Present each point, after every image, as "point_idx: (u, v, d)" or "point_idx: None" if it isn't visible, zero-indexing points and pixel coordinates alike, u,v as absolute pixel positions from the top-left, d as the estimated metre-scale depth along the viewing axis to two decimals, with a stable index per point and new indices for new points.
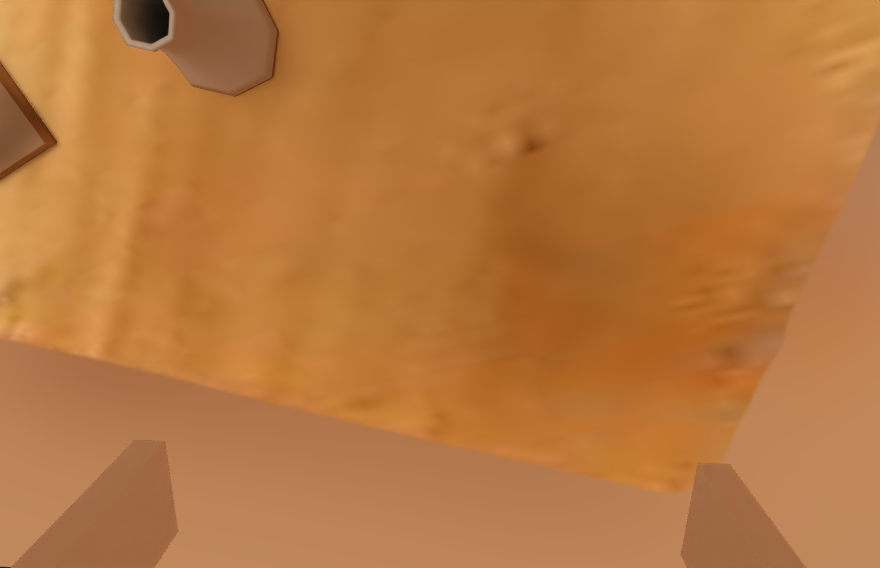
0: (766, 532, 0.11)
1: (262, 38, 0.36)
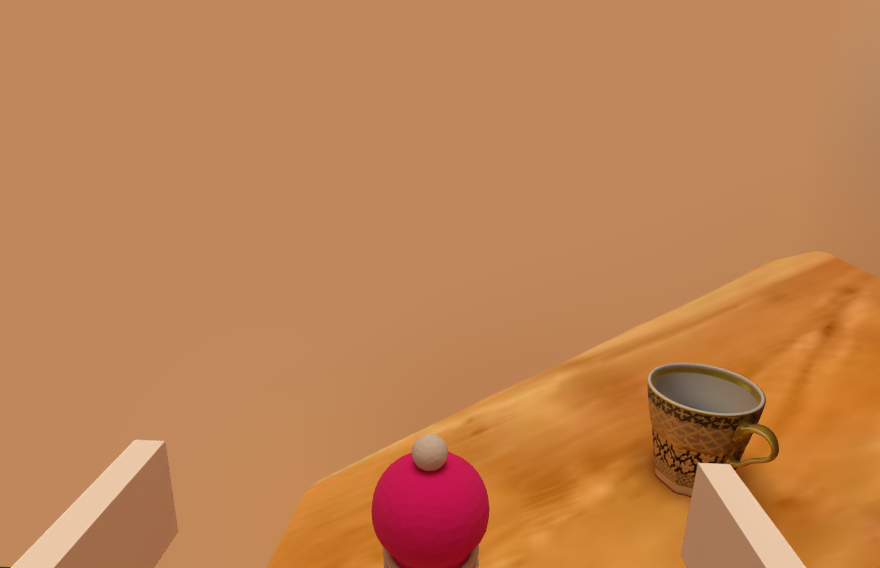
0: (766, 532, 0.11)
1: None
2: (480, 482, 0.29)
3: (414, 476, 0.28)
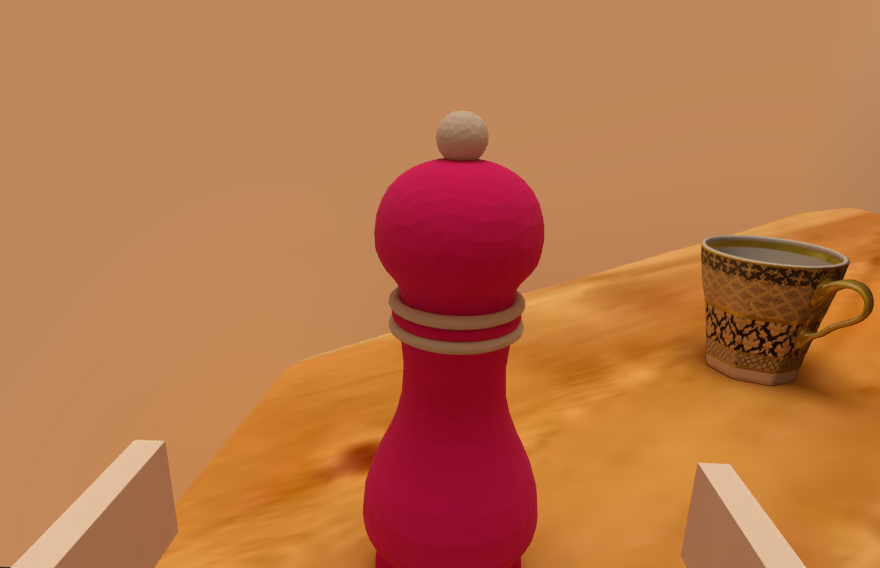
0: (766, 532, 0.11)
1: None
2: (533, 192, 0.20)
3: (439, 164, 0.19)
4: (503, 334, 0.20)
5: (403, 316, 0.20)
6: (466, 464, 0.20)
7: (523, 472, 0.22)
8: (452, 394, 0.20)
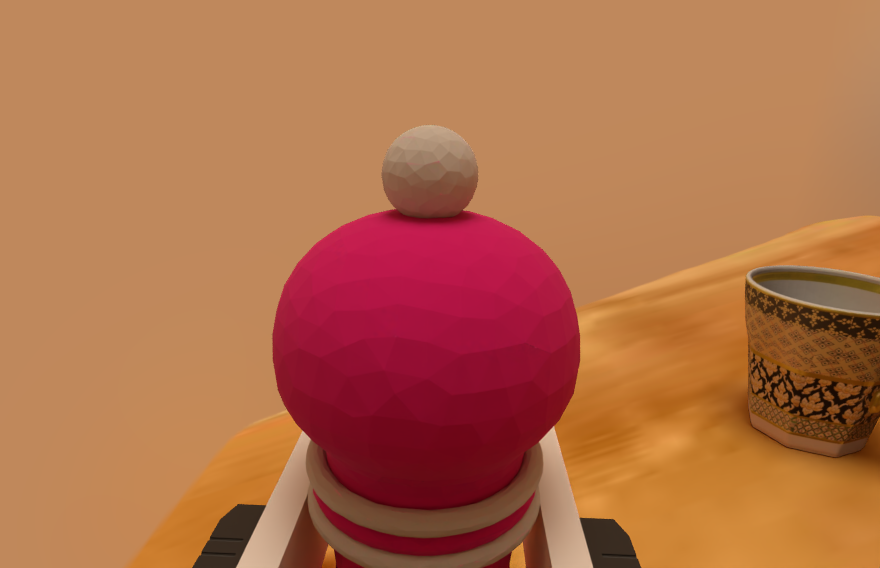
0: (551, 462, 0.13)
1: None
2: (558, 271, 0.11)
3: (385, 226, 0.10)
4: (506, 531, 0.11)
5: (323, 500, 0.11)
6: None
7: None
8: None
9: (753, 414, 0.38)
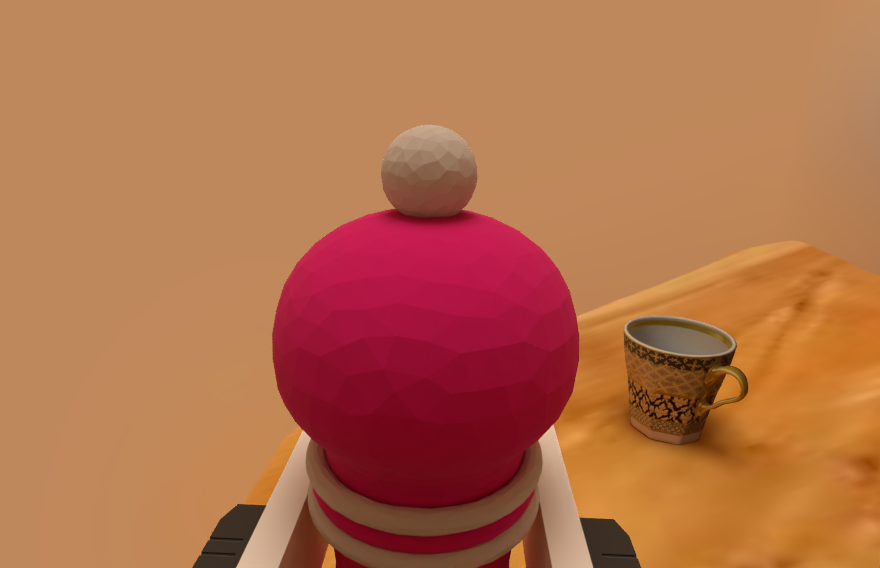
0: (551, 462, 0.13)
1: None
2: (557, 270, 0.11)
3: (385, 225, 0.10)
4: (505, 529, 0.11)
5: (323, 499, 0.11)
6: None
7: None
8: None
9: (631, 417, 0.57)
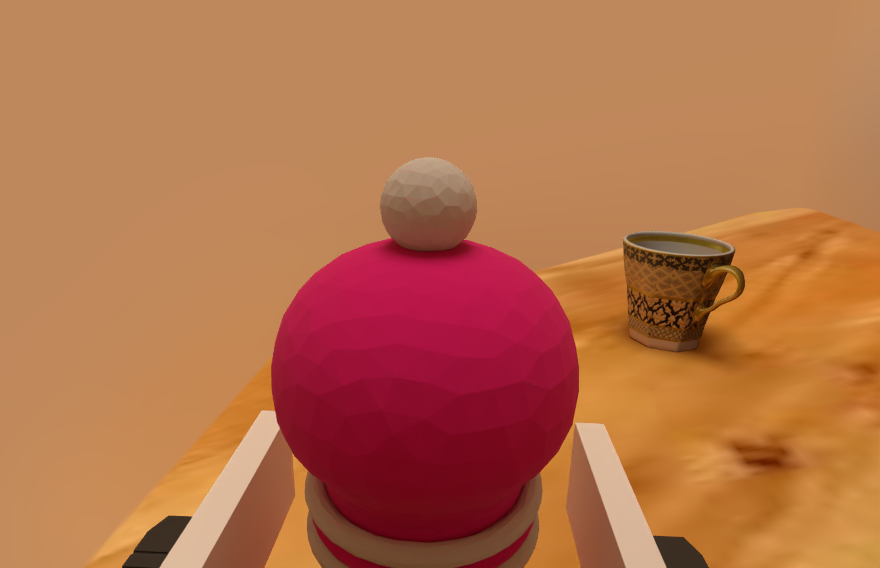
0: (614, 477, 0.13)
1: None
2: (557, 301, 0.11)
3: (384, 260, 0.10)
4: (505, 561, 0.11)
5: (322, 531, 0.11)
6: None
7: None
8: None
9: (630, 328, 0.58)
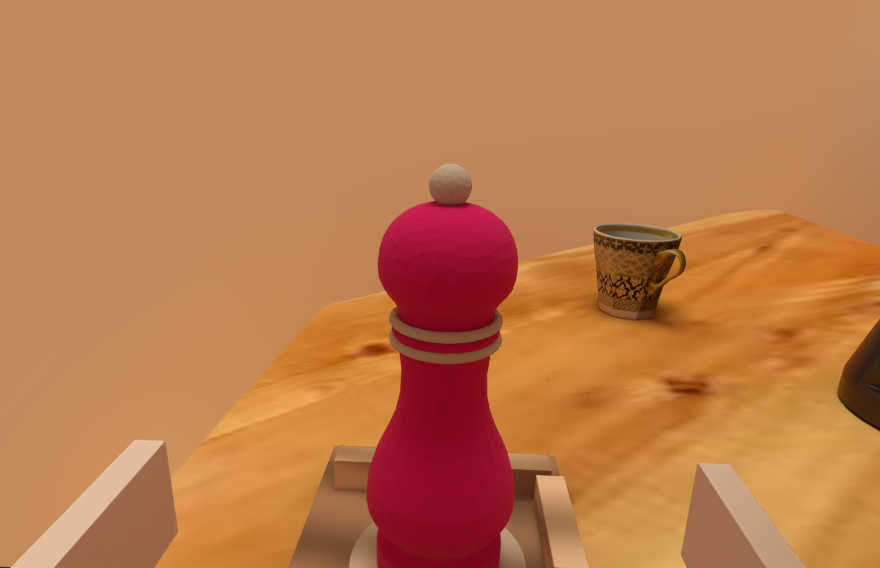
0: (766, 532, 0.11)
1: None
2: (508, 229, 0.24)
3: (431, 208, 0.23)
4: (484, 347, 0.24)
5: (401, 332, 0.24)
6: (453, 454, 0.25)
7: (502, 462, 0.26)
8: (441, 397, 0.24)
9: (599, 302, 0.71)
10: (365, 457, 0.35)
